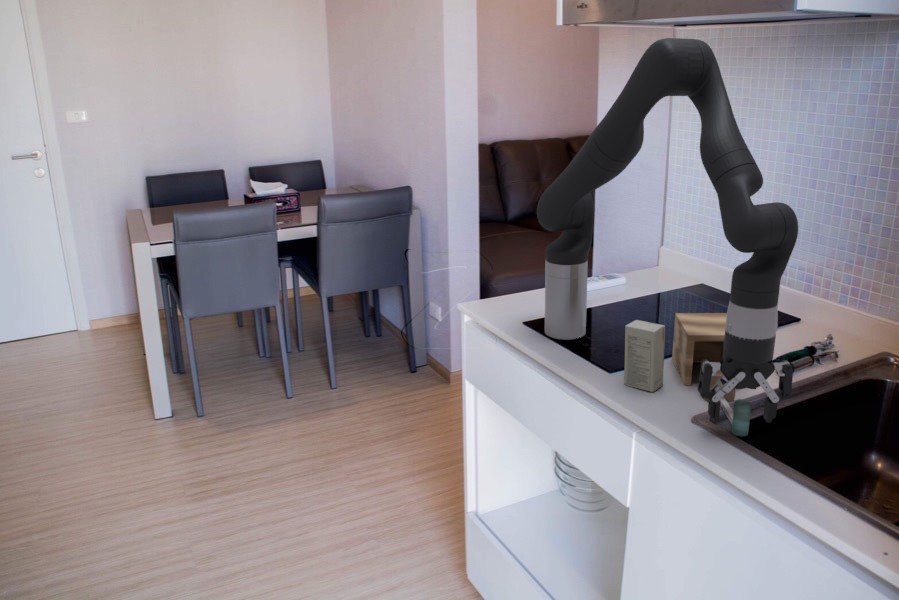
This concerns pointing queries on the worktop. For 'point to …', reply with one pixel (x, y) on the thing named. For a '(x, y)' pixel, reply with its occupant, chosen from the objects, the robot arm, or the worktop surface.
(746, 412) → the mallet
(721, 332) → the oak cubby
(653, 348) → the skincare box
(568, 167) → the robot arm
